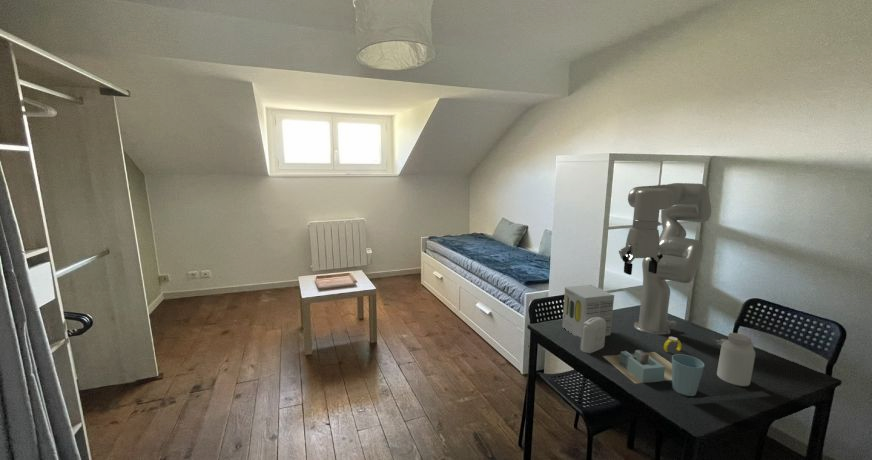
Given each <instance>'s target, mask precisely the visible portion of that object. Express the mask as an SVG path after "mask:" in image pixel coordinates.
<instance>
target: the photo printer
mask: <svg viewBox="0 0 872 460" xmlns="http://www.w3.org/2000/svg"><path fill="white" fill-rule="evenodd" d="M605 332H606V321H605V320H604V319H603V318H600V317H594V318H591V319H589V320H587V321H586V322H585V323H584V324H583V325H582V332H581V337H580V346H579V350H580V351H582V352H583V353H585V354H586V353H587V354H593V353H594V352H596V351H599V350H601V349H603V348H604V347H605V342H606V336H605Z"/></svg>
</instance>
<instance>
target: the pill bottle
mask: <svg viewBox="0 0 872 460" xmlns="http://www.w3.org/2000/svg"><path fill="white" fill-rule="evenodd" d="M727 340H728V341H725V342H723V343H722V345H720V346H721V347H720V352H719V353H720V354H719V357H718V358H719V359H718V365H717V369H716V370H717V371H716V375H717V377H718V378H719V379H720V380H722V381H724V382H726V383H729V384H731V385H735V386H740V387H748V386H750V385H751V381H752V376H753V371H754V365H755V360H756V351H755V349H754V348H752V347H751V341H752V338H751V337H750V336H748V335H745V334H743V333H738V332H730V333H729V334H728V335H727Z"/></svg>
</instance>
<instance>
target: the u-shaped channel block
mask: <svg viewBox="0 0 872 460" xmlns="http://www.w3.org/2000/svg"><path fill="white" fill-rule="evenodd" d="M641 352H644V351H643V350H642V349H636V350H634V354H635V356H632V355H631V354H632V353H630V352H628V351H627V350H624V351H623V350H622V351H620V354H619V355H620V365H621V366H622V367H624V368H625V369H626V370H627V371H629V372H630V373H631V374H632V375H633V376H635V377H636V378H637V379H638V380H640V381H641V382H642V383H641V384H645V383H644V382H648V383H655V382H654V381H658V382H665V381H664V373H665V366H663V365H662V364H660V363H659V362H657V361H656V360H654V359H653V358H652V357H650V356H649V359H648V365H642V364H641V363H639V358H640V353H641ZM634 357H636V360H635V359H634Z"/></svg>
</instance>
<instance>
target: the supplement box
mask: <svg viewBox="0 0 872 460" xmlns="http://www.w3.org/2000/svg"><path fill="white" fill-rule="evenodd" d="M614 300H615V294H613V293H610V292H608V291H606V290H604V289H602V288H599V287H597V286H595V285H594V284H583V285H574V286H565V287H564V297H563V310H562V311H563V312H562V313H563V314H562V328H563V329H564V328H565V329H566V331H567V332H568V331H569V332H568V333H570V334H571V333H572V334H571V335H572V336H573V337H579V338H581V332H582V325H583V324H584V323H585V322H586V321H587V320H589V319H591V318H594V317H600V318H603V319H604V320H605V321H606V332H605V337H607V336H611V332H612V321H613V312H614ZM565 329H564V330H565Z"/></svg>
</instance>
